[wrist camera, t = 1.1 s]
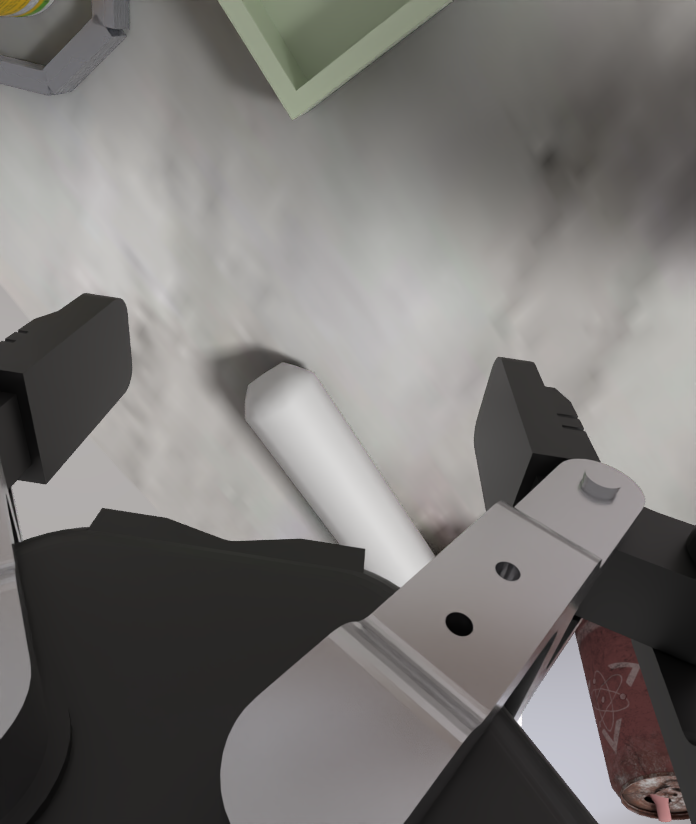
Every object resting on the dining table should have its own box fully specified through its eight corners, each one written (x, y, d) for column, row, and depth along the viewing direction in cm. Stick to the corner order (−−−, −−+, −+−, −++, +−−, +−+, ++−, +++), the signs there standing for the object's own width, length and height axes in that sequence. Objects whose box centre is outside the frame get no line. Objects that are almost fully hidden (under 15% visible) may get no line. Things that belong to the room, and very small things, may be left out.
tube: (211, 408, 34) (400, 650, 44) (272, 392, 30) (461, 657, 41) (257, 358, 37) (422, 593, 48) (316, 338, 34) (479, 596, 44)
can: (574, 628, 46) (621, 827, 34) (561, 577, 43) (608, 777, 31) (655, 620, 44) (733, 826, 33) (648, 566, 41) (731, 773, 30)
